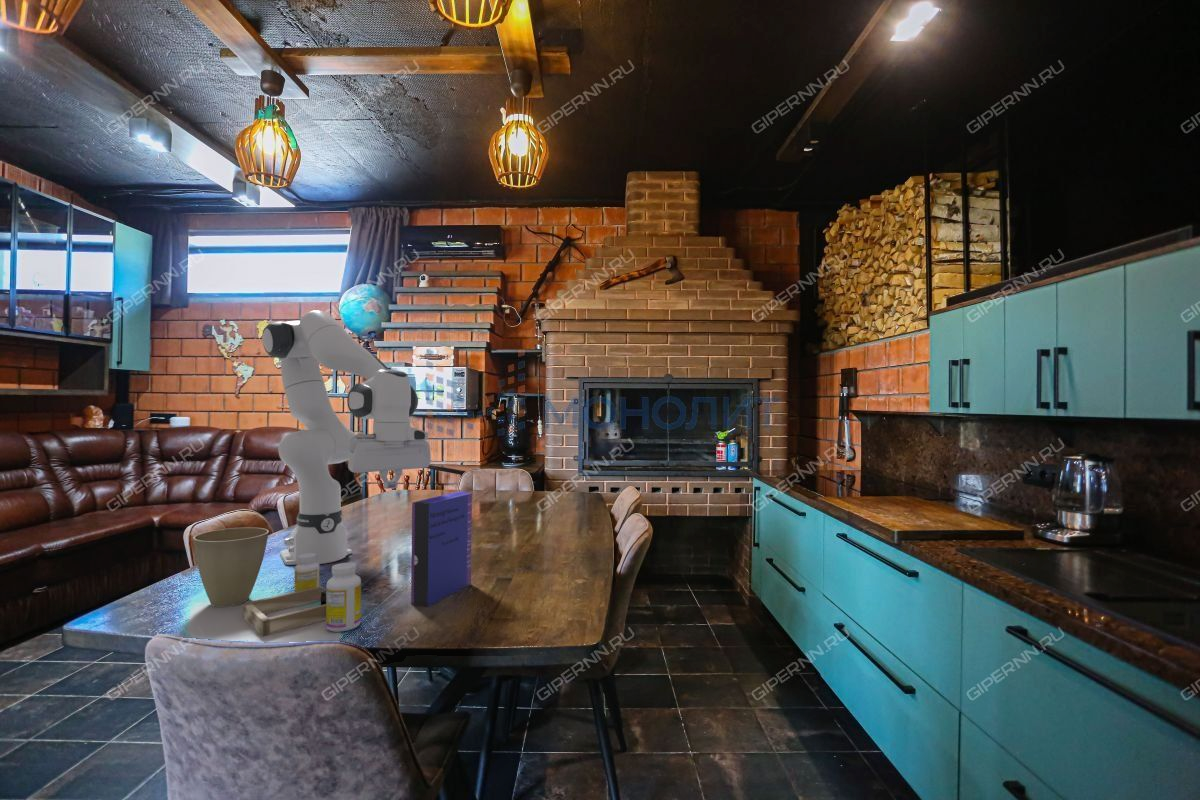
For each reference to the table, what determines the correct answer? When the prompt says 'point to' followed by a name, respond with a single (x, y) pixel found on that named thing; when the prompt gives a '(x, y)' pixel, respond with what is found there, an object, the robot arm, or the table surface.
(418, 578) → the purple book
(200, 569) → the plant pot
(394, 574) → the table surface
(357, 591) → the supplement bottle
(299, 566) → the supplement bottle
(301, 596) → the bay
